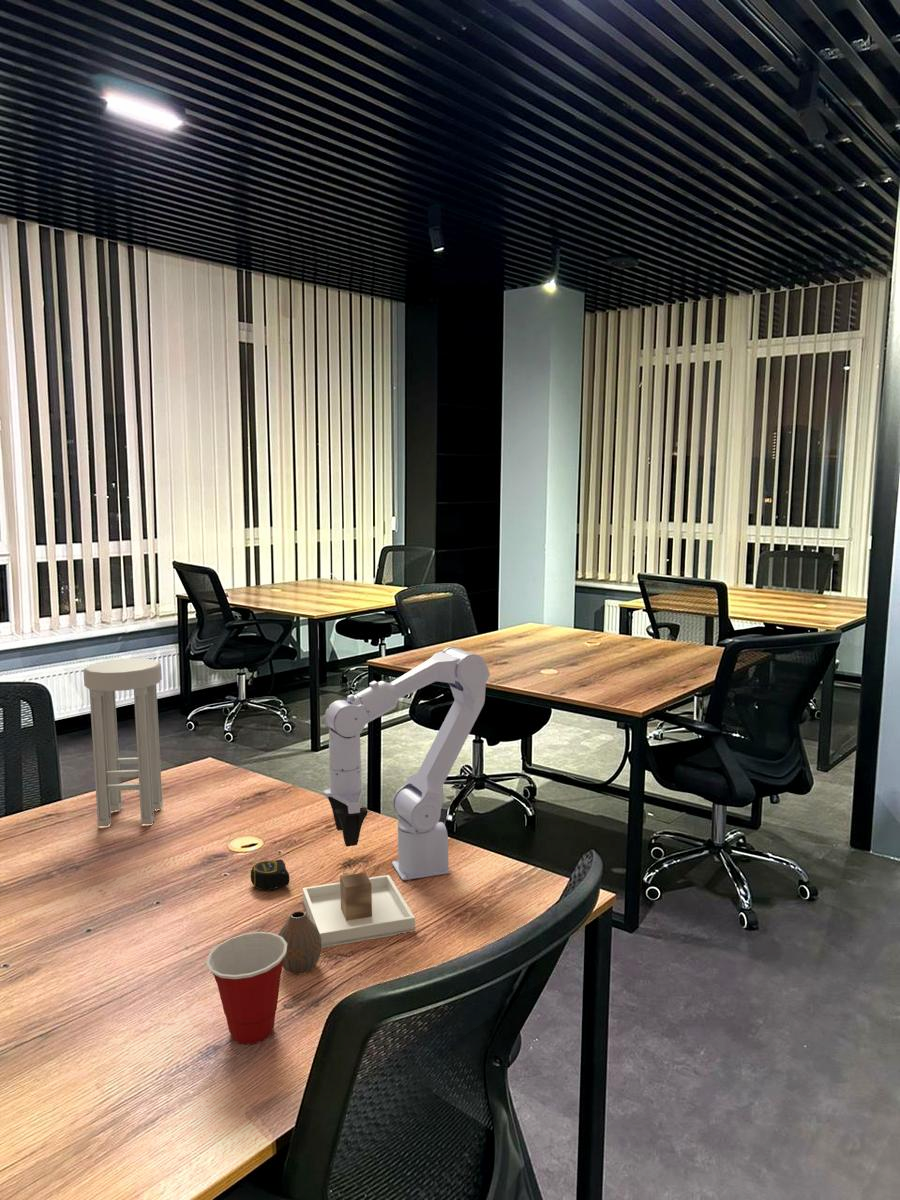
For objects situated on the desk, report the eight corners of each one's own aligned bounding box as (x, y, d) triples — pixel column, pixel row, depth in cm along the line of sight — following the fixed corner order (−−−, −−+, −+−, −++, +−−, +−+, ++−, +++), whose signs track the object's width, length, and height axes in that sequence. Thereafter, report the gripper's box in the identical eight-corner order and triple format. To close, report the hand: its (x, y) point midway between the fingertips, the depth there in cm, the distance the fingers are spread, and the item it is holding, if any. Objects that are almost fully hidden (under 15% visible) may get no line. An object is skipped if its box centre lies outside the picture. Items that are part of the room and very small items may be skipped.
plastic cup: (207, 1016, 125) (203, 937, 123) (284, 1002, 128) (282, 924, 126) (211, 1065, 114) (207, 978, 113) (295, 1048, 118) (292, 964, 116)
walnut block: (366, 904, 156) (365, 872, 155) (372, 916, 152) (371, 883, 151) (340, 908, 154) (340, 876, 154) (346, 920, 150) (345, 887, 149)
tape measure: (290, 890, 163) (289, 871, 163) (252, 895, 161) (251, 876, 161) (285, 875, 170) (285, 856, 169) (249, 879, 168) (248, 861, 167)
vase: (329, 959, 139) (328, 907, 138) (309, 983, 133) (307, 928, 132) (290, 952, 142) (289, 900, 140) (268, 975, 135) (266, 921, 134)
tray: (389, 887, 164) (388, 874, 163) (415, 931, 148) (414, 917, 147) (302, 901, 159) (302, 887, 158) (320, 948, 143) (319, 933, 142)
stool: (105, 806, 205) (96, 658, 200) (173, 803, 207) (166, 656, 202) (85, 832, 190) (74, 673, 185) (159, 829, 192) (150, 671, 187)
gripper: (316, 756, 167) (318, 825, 169) (331, 781, 154) (333, 855, 155) (353, 753, 169) (354, 820, 171) (370, 777, 156) (372, 850, 158)
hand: (346, 837), depth 163 cm, fingers open, 7 cm apart
